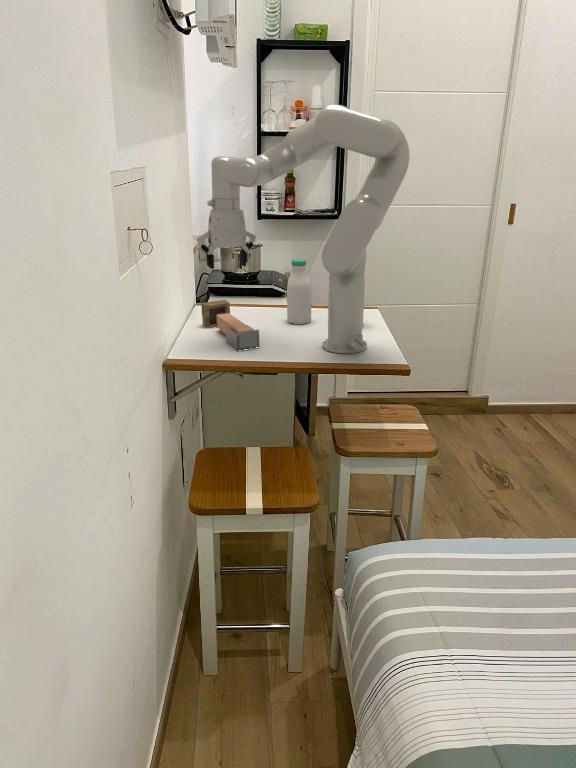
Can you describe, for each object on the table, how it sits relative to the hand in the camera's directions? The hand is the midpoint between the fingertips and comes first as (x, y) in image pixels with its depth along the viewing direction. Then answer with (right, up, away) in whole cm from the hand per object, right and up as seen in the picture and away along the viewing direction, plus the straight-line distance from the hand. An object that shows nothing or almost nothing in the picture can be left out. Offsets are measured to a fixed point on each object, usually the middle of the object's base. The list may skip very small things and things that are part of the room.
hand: (227, 266), depth 173 cm
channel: (+4, -22, +1) cm, 23 cm away
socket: (-5, -15, +21) cm, 26 cm away
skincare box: (+37, -15, +19) cm, 44 cm away
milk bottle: (+21, -13, +23) cm, 34 cm away
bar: (+2, -19, +7) cm, 20 cm away
